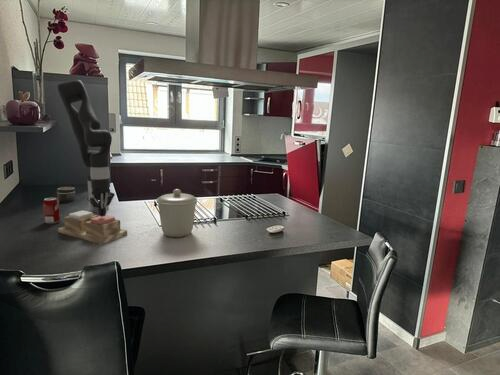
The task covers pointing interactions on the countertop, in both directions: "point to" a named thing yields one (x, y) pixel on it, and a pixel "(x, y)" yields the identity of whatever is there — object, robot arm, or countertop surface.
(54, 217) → the soda can
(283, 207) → the countertop surface
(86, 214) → the white key
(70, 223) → the frame
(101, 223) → the red key
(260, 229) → the countertop surface
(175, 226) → the canister
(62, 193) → the jar
